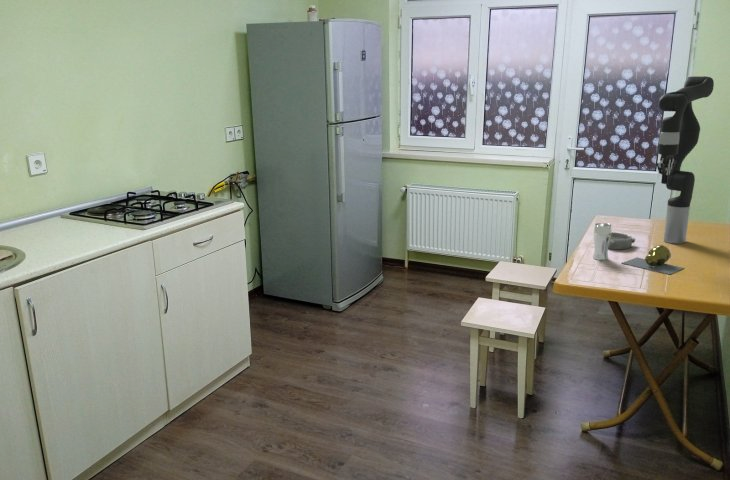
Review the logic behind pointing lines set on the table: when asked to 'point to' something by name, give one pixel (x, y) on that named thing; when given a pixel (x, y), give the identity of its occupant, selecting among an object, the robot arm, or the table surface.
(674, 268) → the mat
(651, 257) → the brass door knob
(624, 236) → the dish
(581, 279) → the table surface
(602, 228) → the beer glass
